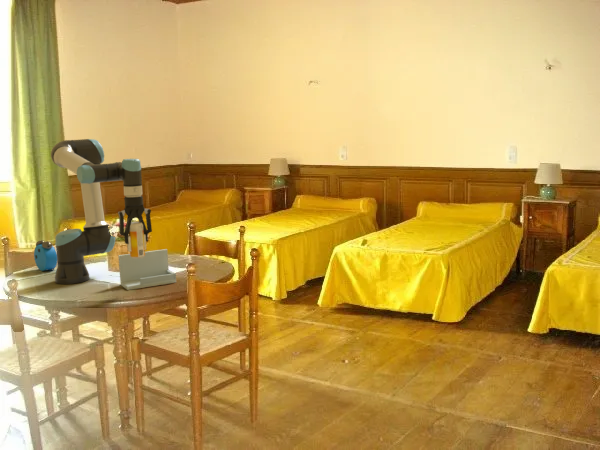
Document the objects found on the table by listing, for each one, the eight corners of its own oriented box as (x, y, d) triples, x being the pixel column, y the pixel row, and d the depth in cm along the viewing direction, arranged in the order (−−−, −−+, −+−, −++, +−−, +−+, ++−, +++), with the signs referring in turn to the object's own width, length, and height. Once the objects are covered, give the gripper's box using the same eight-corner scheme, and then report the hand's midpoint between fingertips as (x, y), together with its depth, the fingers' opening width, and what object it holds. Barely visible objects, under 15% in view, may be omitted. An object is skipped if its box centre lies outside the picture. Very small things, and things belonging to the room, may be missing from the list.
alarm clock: (58, 270, 330) (56, 241, 328) (46, 273, 326) (43, 243, 323) (46, 267, 339) (43, 238, 336) (34, 269, 334) (31, 240, 332)
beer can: (139, 255, 286) (136, 220, 283) (148, 256, 282) (145, 222, 279) (127, 257, 281) (125, 222, 279) (136, 259, 277) (134, 224, 275)
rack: (127, 290, 286) (125, 259, 284) (120, 285, 296) (118, 255, 293) (176, 282, 297) (174, 252, 295) (168, 277, 306) (166, 249, 304)
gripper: (113, 198, 269) (117, 254, 273) (158, 194, 278) (161, 248, 282) (108, 196, 276) (112, 251, 280) (152, 193, 285) (155, 246, 289)
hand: (137, 250), depth 281 cm, fingers closed on beer can, 6 cm apart
